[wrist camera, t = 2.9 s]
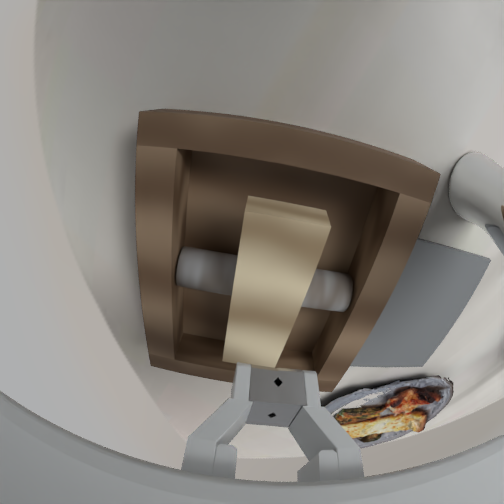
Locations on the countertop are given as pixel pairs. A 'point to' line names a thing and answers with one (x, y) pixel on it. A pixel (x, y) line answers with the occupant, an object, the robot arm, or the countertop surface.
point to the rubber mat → (422, 306)
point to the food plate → (392, 409)
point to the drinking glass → (479, 194)
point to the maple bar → (272, 277)
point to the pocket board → (230, 227)
